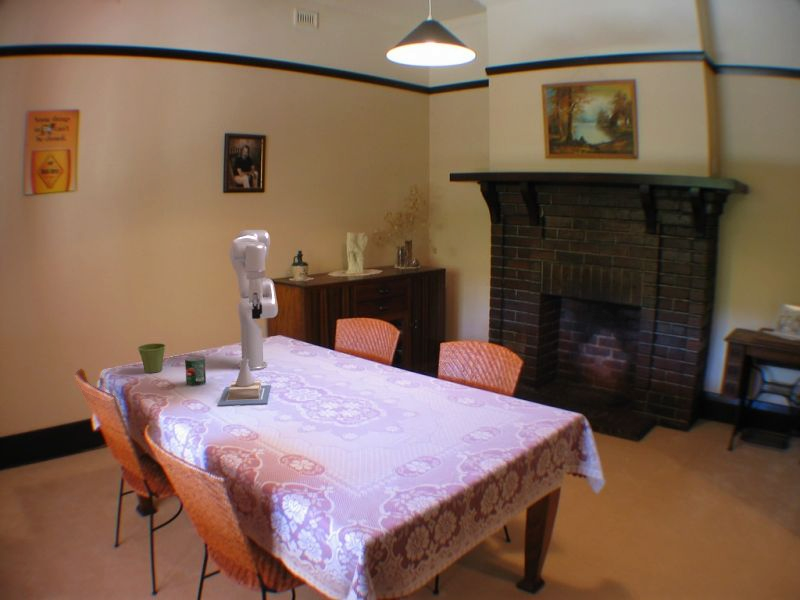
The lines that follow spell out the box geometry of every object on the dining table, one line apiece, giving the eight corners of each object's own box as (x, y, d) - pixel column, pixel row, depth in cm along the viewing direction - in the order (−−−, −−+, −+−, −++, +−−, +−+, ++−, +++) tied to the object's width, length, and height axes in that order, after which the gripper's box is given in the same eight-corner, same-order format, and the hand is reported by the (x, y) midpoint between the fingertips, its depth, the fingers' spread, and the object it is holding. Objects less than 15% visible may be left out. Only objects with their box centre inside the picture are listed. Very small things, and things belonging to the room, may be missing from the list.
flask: (231, 385, 251) (230, 360, 249) (244, 380, 257) (243, 356, 255) (246, 388, 247) (245, 363, 246) (258, 383, 254) (257, 358, 252)
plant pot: (140, 368, 290) (138, 344, 288) (168, 366, 293) (166, 342, 291) (137, 376, 279) (136, 350, 277) (166, 373, 282) (165, 348, 280)
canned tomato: (182, 385, 266) (180, 359, 264) (194, 380, 273) (192, 354, 271) (198, 387, 263) (197, 361, 262) (210, 381, 271) (208, 356, 269)
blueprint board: (225, 388, 262) (225, 386, 262) (270, 386, 265) (270, 384, 264) (218, 406, 241) (217, 404, 241) (267, 404, 243) (267, 402, 243)
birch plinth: (232, 390, 257) (232, 381, 257) (261, 389, 259) (260, 380, 258) (229, 399, 246) (229, 389, 246) (258, 398, 248) (258, 388, 247)
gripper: (248, 272, 270) (250, 312, 273) (244, 277, 253) (245, 320, 256) (266, 271, 271) (268, 312, 274) (263, 277, 254) (265, 320, 257)
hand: (257, 316), depth 265 cm, fingers open, 9 cm apart
